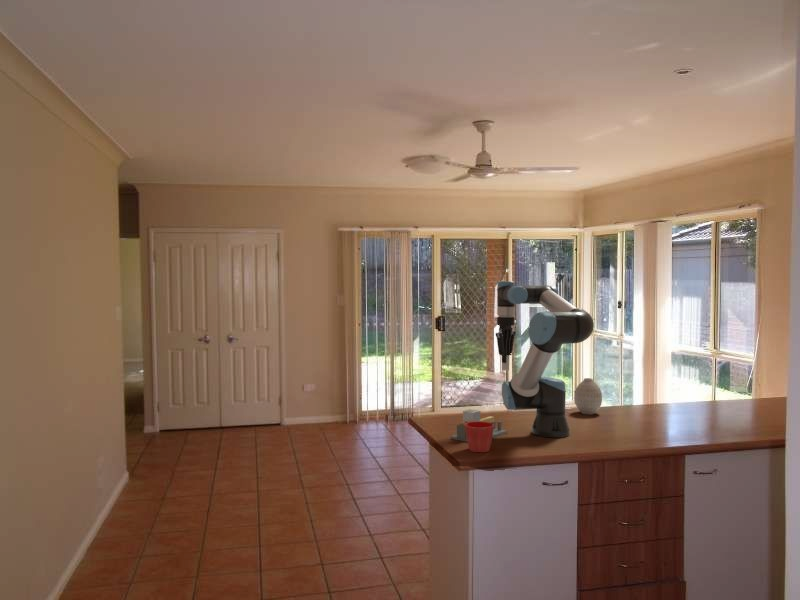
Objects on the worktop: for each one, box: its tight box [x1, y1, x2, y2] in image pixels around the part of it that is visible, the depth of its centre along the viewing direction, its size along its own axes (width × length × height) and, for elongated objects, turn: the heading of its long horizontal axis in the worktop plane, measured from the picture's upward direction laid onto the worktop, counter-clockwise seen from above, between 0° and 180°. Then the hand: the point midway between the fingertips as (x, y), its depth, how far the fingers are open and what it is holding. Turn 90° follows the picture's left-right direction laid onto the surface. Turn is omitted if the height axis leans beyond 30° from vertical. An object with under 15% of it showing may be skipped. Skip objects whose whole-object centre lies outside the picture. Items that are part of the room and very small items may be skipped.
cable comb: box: [450, 415, 508, 443], centre depth 260 cm, size 12×23×7 cm, turn 139°
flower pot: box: [465, 421, 494, 453], centre depth 238 cm, size 11×11×10 cm
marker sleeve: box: [462, 408, 481, 423], centre depth 257 cm, size 5×5×8 cm
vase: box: [573, 377, 603, 416], centre depth 305 cm, size 13×13×17 cm
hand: (505, 370), depth 278 cm, fingers closed
